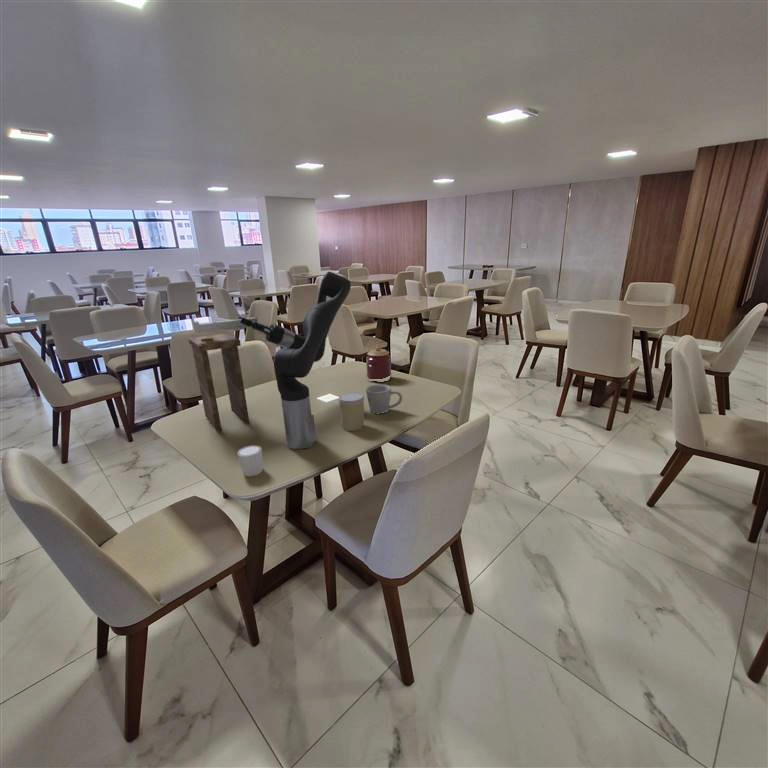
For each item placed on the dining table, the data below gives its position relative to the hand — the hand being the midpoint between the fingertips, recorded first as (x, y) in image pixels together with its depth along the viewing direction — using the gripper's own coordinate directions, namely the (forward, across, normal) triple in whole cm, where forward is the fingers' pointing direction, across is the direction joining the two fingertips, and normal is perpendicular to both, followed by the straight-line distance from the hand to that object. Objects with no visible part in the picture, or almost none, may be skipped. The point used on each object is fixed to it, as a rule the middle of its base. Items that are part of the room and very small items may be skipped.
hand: (240, 319), depth 143 cm
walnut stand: (-11, +4, -39) cm, 41 cm away
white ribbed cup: (-7, -44, -42) cm, 61 cm away
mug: (-58, -32, -13) cm, 67 cm away
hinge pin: (+3, 0, -5) cm, 6 cm away
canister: (-79, +6, -1) cm, 79 cm away
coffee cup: (-42, -36, -22) cm, 59 cm away
